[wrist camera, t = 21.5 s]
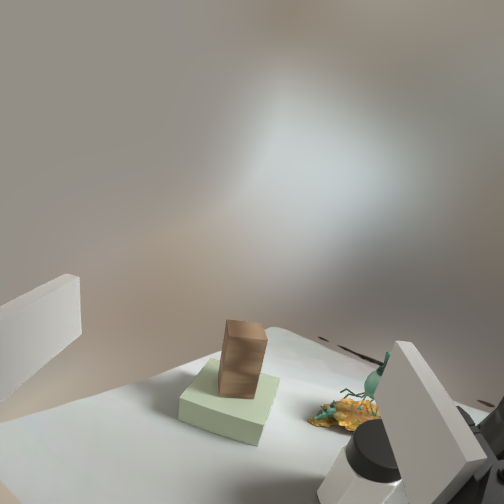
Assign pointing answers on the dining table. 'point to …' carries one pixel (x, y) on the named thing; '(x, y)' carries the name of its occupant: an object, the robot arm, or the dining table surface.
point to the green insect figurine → (352, 405)
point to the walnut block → (241, 359)
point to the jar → (362, 469)
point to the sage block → (227, 406)
